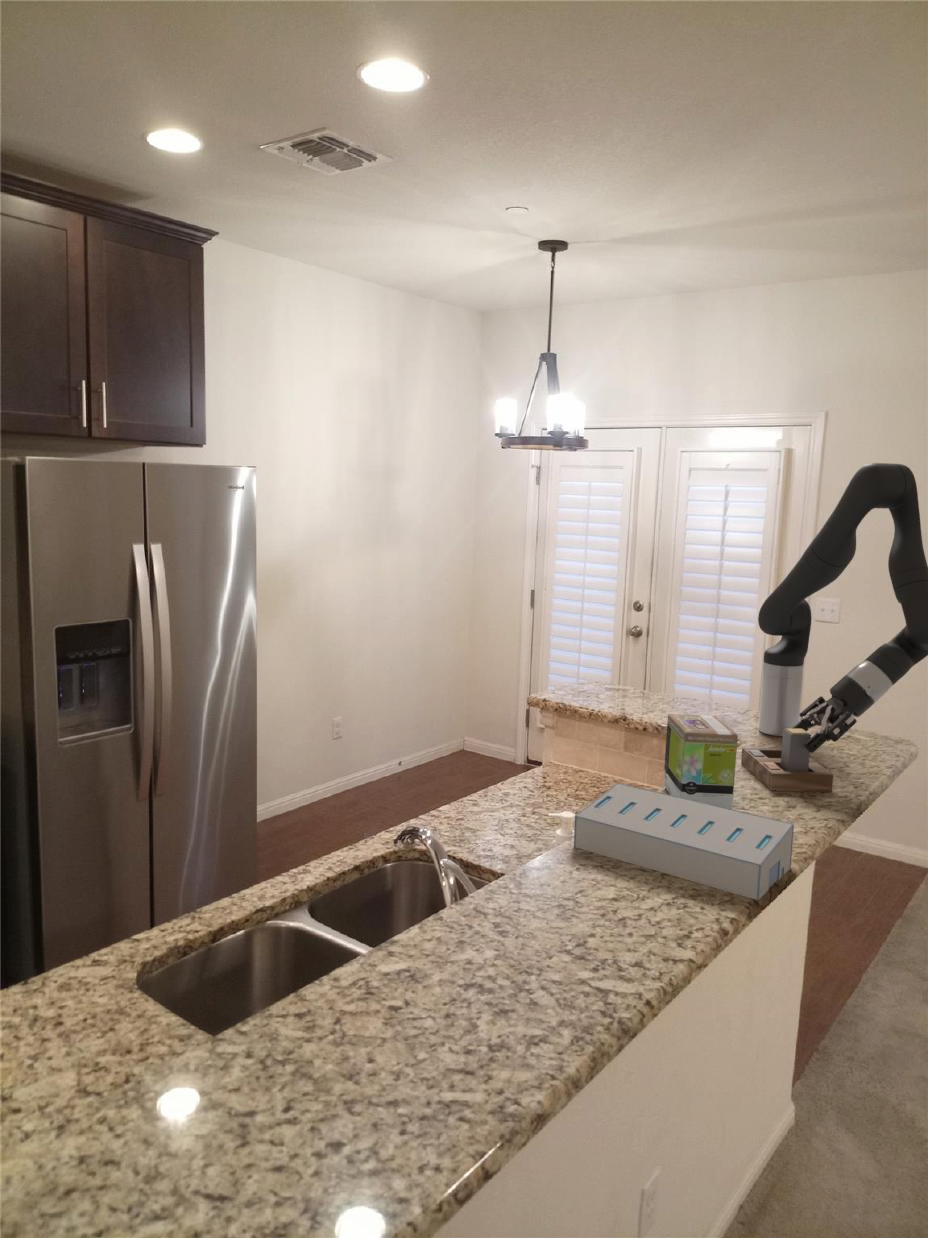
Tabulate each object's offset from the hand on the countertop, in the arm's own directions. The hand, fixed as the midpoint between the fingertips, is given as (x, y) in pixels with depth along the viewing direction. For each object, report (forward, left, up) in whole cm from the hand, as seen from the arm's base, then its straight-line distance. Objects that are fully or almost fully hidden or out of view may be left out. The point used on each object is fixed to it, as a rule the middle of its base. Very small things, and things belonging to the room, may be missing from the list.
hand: (798, 743), depth 178 cm
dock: (-4, -1, -8) cm, 9 cm away
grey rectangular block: (0, -1, -8) cm, 8 cm away
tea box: (+10, -23, -9) cm, 26 cm away
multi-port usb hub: (+38, -33, -9) cm, 51 cm away
